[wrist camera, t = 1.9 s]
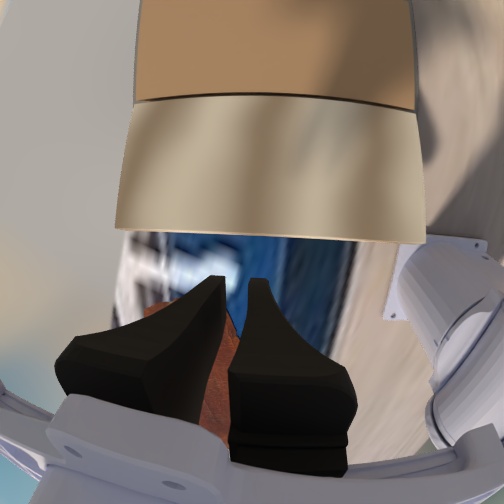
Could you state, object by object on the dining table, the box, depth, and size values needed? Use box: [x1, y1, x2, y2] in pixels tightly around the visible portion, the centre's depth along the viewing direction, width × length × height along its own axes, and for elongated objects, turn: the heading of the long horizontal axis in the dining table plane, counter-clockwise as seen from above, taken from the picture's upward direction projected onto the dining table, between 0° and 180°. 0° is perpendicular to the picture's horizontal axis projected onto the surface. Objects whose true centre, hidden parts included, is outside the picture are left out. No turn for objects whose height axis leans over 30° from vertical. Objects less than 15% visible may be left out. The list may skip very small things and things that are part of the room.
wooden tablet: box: [144, 298, 240, 449], centre depth 30 cm, size 27×10×2 cm, turn 11°
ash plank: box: [115, 96, 426, 245], centre depth 16 cm, size 18×8×2 cm, turn 89°
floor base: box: [133, 0, 418, 121], centre depth 16 cm, size 20×19×2 cm
